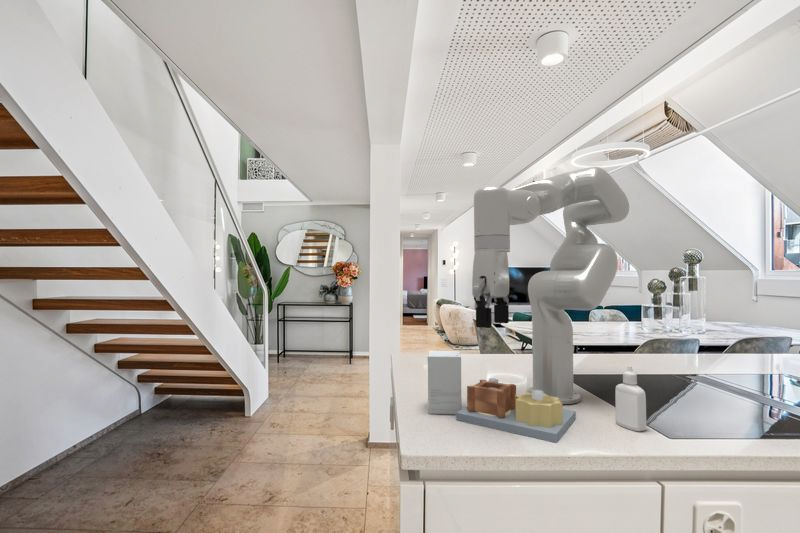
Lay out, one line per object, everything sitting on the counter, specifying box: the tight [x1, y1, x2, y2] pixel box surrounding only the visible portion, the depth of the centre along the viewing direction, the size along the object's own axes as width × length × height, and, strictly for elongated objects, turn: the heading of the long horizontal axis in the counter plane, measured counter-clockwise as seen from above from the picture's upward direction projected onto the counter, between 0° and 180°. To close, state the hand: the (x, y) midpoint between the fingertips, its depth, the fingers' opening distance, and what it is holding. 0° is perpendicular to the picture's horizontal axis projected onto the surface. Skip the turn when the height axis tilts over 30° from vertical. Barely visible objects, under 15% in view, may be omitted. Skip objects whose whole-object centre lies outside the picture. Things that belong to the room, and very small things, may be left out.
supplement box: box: [427, 350, 462, 415], centre depth 90 cm, size 7×7×13 cm
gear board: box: [455, 377, 577, 443], centre depth 84 cm, size 16×20×7 cm
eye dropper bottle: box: [614, 365, 647, 432], centre depth 80 cm, size 4×6×12 cm
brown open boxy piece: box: [466, 379, 517, 418], centre depth 85 cm, size 8×8×5 cm
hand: (493, 325), depth 86 cm, fingers open, 9 cm apart
